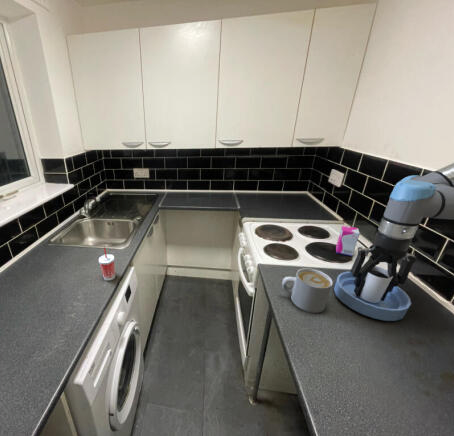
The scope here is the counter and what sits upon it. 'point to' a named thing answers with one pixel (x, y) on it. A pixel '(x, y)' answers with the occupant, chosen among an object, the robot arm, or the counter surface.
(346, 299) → the bowl
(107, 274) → the beverage cup
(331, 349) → the counter surface
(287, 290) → the coffee mug
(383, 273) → the white cup
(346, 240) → the supplement box
